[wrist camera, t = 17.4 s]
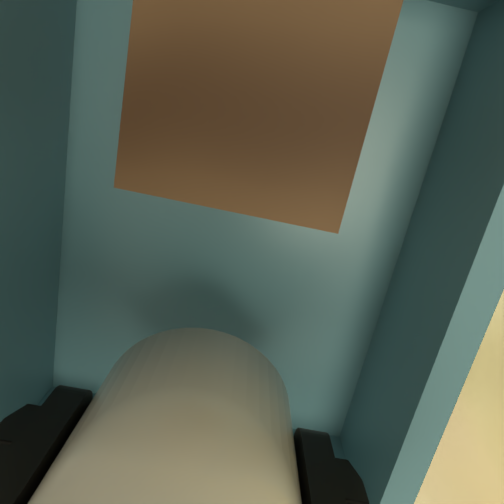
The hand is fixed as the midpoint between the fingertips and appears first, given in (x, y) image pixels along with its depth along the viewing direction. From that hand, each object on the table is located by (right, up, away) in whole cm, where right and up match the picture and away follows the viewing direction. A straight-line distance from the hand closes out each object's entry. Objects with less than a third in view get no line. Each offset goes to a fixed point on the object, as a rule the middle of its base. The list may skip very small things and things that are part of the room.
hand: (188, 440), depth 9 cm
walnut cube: (+2, +9, +3) cm, 10 cm away
